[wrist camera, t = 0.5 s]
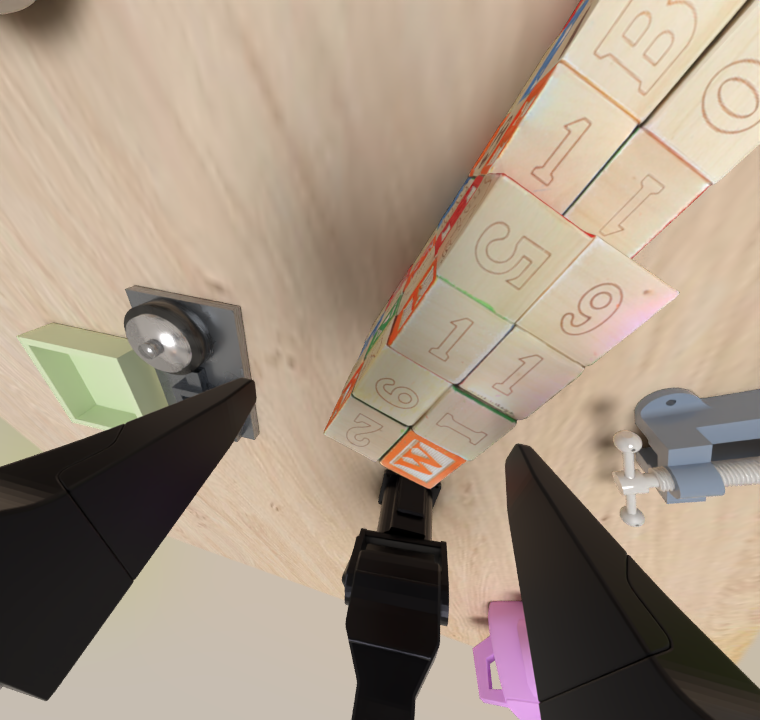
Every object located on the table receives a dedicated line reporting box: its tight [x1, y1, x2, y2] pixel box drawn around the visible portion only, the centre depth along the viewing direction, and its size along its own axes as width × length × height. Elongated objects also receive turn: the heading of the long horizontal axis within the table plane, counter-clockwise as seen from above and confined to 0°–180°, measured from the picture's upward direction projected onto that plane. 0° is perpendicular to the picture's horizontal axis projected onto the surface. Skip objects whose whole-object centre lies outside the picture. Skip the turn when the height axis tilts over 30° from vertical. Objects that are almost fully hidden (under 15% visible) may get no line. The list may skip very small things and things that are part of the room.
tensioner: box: [124, 286, 259, 442], centre depth 28 cm, size 16×10×4 cm, turn 173°
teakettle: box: [473, 601, 541, 720], centre depth 41 cm, size 17×17×12 cm
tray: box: [16, 323, 169, 430], centre depth 31 cm, size 12×11×3 cm
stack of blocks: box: [324, 0, 760, 489], centre depth 13 cm, size 21×6×12 cm, turn 150°
